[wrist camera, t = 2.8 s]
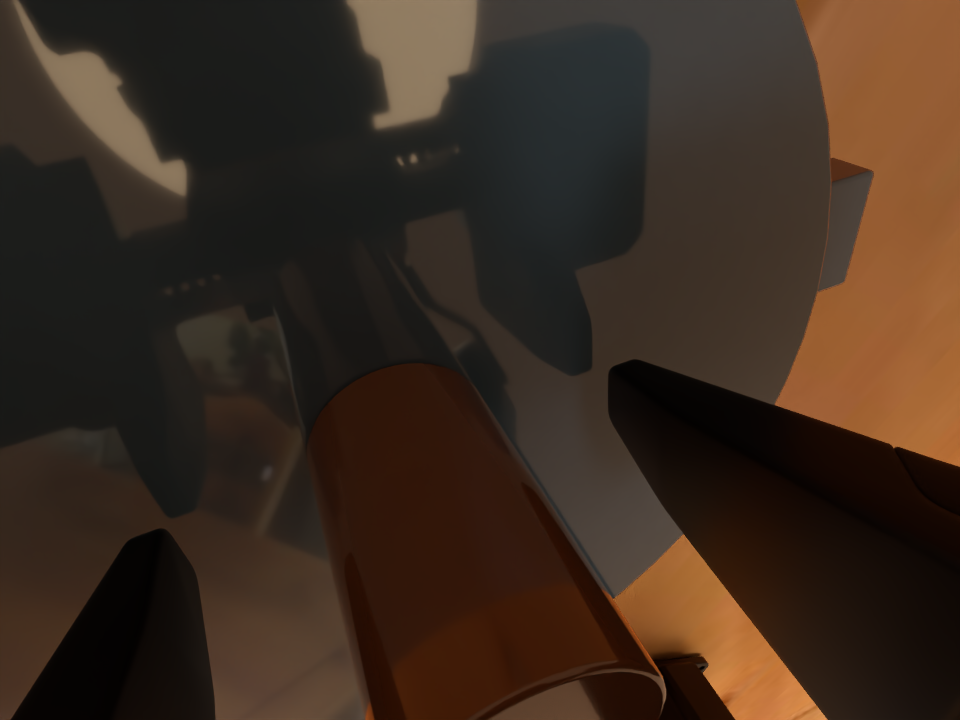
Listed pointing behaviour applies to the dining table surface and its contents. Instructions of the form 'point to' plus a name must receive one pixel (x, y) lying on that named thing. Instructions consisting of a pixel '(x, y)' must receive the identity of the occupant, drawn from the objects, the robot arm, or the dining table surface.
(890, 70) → the dining table surface
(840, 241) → the pot
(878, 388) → the dining table surface
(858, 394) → the dining table surface
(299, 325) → the lid
